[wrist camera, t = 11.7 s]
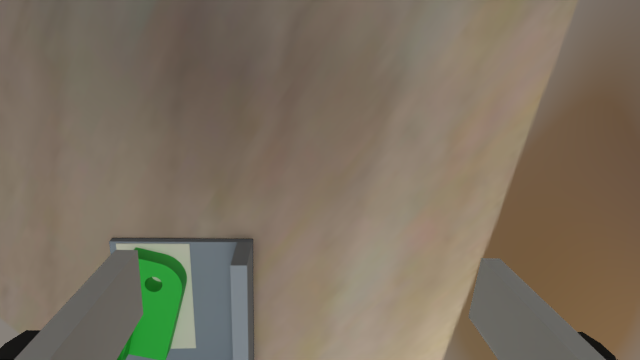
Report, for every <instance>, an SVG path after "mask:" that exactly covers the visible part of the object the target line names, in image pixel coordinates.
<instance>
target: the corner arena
mask: <svg viewBox="0 0 640 360" xmlns="http://www.w3.org/2000/svg"><path fill="white" fill-rule="evenodd" d="M109 244H110V252H111V254H112V253H113V252H114V251H115V250H134V249H135V248H136V247H137V248H141V249H145V250H150V251H154V252H158V253H163V254H166V255H169V256H172V257H173V258H175V259H176V260H178V261H179V262H180V263H181V264H182V266H183V267H184V269H185V271H186V274H187V284H186V288H185V292H184V296H183V300H182V304H181V308H180V312H179V316H178V320H177V324H176V328H175V332H174V336H173V340H172V344H171V348H170V351H169V353H168V356H167V358H166V360H254V305H253V239H166V238H112V239H111V240H110V241H109ZM152 278H153V279H154V280H156V281H159V282H161V280H160V279H158V278H156V277H152ZM126 360H156V359H151V358H146V357H140V356H135V355H130V354H128V356H127V358H126Z"/></svg>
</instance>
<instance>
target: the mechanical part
mask: <svg viewBox="0 0 640 360" xmlns="http://www.w3.org/2000/svg"><path fill="white" fill-rule="evenodd" d="M134 250H138V260H139V271H140V282H141V294H142V305H143V315H142V317H141V319H140V320H139V322H138V324H137V326H136V327H135V329H134V331H133V333H132V334H131V336H130V338H129V339H128V341H127V343H126V345H125V346H124V348H123V350H122V351H121V353H120V355H119V357H118V358H117V360H126V358H127V356H128V354H130V355H135V356H140V357H146V358H151V359H156V360H166V358H167V356H168V353H169V351H170V348H171V344H172V340H173V336H174V332H175V328H176V324H177V320H178V316H179V312H180V308H181V304H182V300H183V296H184V292H185V288H186V284H187V274H186V271H185V269H184V267H183V266H182V264H181V263H180V262H179V261H178V260H176V259H175V258H173V257H172V256H169V255H166V254H163V253H158V252H154V251H150V250H145V249H141V248H137V247H136V248H135V249H134ZM152 277H156V278H158V279H160V280H161V282H159V281H156V280H154V279H153V278H152Z"/></svg>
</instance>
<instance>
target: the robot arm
mask: <svg viewBox="0 0 640 360" xmlns="http://www.w3.org/2000/svg"><path fill="white" fill-rule="evenodd" d="M142 315H143V305H142V294H141V282H140V271H139V260H138V250H115V251H114V252H113V253H112V254H111V255H110V256H109V257H108V259H107V260H106V261H105V262H104V263H103V264H102V265H101V266H100V267H99V268H98V269H97V270H96V272H95V273H94V274H93V275H92V276H91V277H90V278H89V279H88V280H87V281H86V282H85V283H84V284H83V286H82V287H81V288H80V289H79V290H78V291H77V292H76V293H75V294H74V295H73V296H72V297H71V299H70V300H69V301H68V302H67V303H66V304H65V305H64V306H63V307H62V308H61V309H60V310H59V312H58V313H57V314H56V315H55V316H54V317H53V318H52V319H51V320H50V321H49V322H48V323H47V324H46V326H45V327H44V328H43V329H42V330H41V331H29V330H26V331H25V332H23V333H21V334H20V335H18V336H17V337H15V338H13V339H12V340H10V341H9V342H7V343H5V344H4V345H3V346H2V347H1V348H0V360H117V358H118V357H119V355H120V353H121V351H122V350H123V348H124V346H125V345H126V343H127V341H128V339H129V338H130V336H131V334H132V333H133V331H134V329H135V327H136V326H137V324H138V322H139V320H140V319H141V317H142ZM469 318H470V319H471V321H472V323H473V324H474V325H475V327H476V328H477V330H478V331H479V333H480V334H481V336H482V337H483V338H484V340H485V341H486V343H487V344H488V345H489V347H490V349H491V350H492V351H493V353H494V354H495V356H496V357H497V359H498V360H616V358H615V356H614V355H613V354H612V353H611V352H609V351H608V350H607V349H606V348H605V347H604V346H603V345H602V344H601V343H599V342H597V341H595V340H594V339H593V338H591V337H589V336H588V335H586V334H585V333H583V332H576V331H575V330H574V329H573V328H572V327H571V326H570V325H569V324H568V323H567V322H566V321H565V320H564V319H563V318H562V317H560V316H559V315H558V314H557V313H556V312H555V311H554V310H553V309H552V308H551V307H550V306H549V305H548V304H547V303H546V302H545V301H544V300H543V299H542V298H541V297H540V296H538V295H537V294H536V293H535V292H534V291H533V290H532V289H531V288H530V287H529V286H528V285H527V284H526V283H525V282H524V281H523V280H522V279H521V278H520V277H519V276H517V275H516V274H515V273H514V272H513V271H512V270H511V269H510V268H509V267H508V266H507V265H506V264H505V263H504V262H503V261H502V260H501V259H489V258H481V263H480V267H479V272H478V277H477V281H476V286H475V290H474V294H473V299H472V303H471V308H470V312H469Z"/></svg>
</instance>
